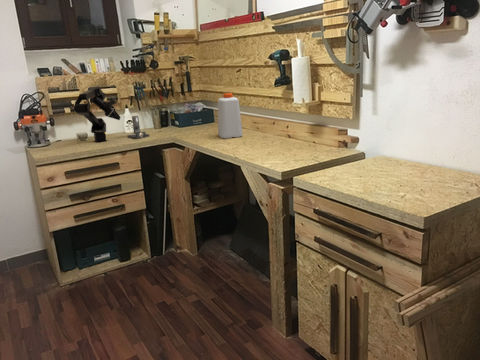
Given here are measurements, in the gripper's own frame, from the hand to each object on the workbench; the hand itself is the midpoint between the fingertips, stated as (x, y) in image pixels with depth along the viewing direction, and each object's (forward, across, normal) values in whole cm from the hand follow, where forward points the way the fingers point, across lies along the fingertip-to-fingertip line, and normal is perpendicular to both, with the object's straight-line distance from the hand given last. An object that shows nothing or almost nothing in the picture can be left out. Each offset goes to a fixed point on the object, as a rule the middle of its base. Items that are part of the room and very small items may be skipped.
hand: (120, 118), depth 273 cm
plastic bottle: (+60, -30, -41) cm, 78 cm away
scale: (+17, -1, +2) cm, 17 cm away
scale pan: (+16, 0, +1) cm, 16 cm away
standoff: (+15, 0, +1) cm, 15 cm away
